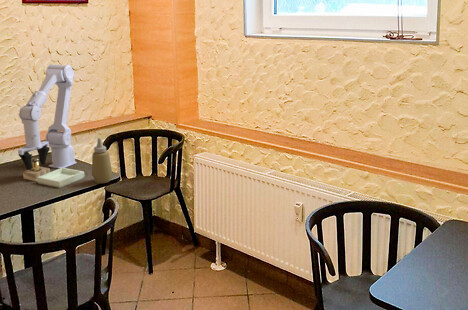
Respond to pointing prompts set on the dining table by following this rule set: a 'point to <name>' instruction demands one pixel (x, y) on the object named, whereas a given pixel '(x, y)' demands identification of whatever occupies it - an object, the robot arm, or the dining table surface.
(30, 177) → the lock block
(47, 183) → the tray
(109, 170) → the squeeze bottle
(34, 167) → the pin
